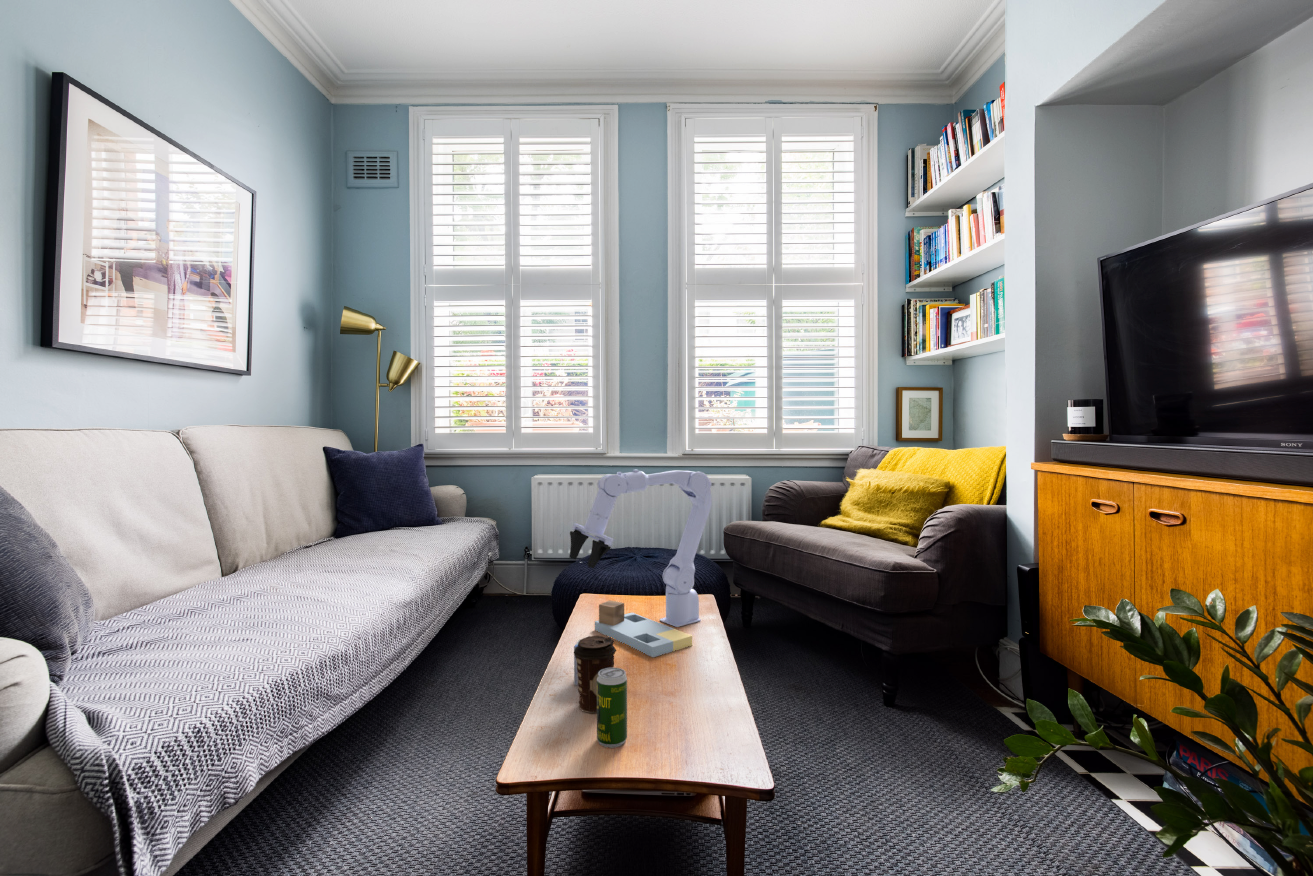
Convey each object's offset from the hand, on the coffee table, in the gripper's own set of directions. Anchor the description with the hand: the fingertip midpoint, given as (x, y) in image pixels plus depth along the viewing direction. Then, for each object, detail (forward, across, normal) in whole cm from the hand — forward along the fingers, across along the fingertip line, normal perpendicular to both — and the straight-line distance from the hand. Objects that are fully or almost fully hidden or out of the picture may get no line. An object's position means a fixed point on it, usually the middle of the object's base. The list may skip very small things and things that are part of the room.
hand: (581, 562), depth 159 cm
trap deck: (+13, +17, +14) cm, 26 cm away
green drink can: (+22, +50, -28) cm, 61 cm away
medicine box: (+20, +29, -13) cm, 38 cm away
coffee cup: (+21, +38, -20) cm, 48 cm away
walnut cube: (+12, +7, +12) cm, 19 cm away
